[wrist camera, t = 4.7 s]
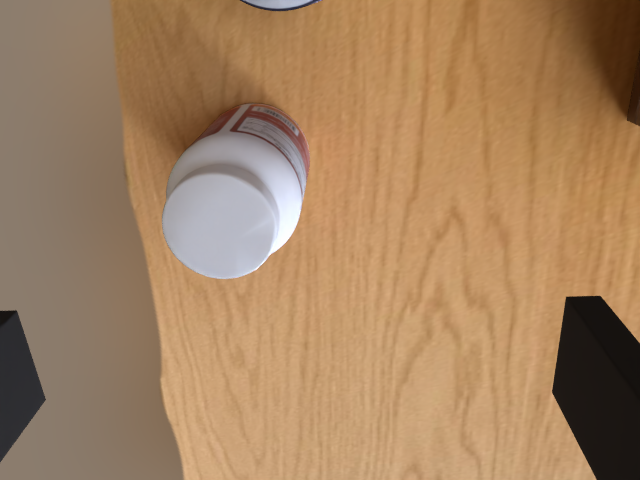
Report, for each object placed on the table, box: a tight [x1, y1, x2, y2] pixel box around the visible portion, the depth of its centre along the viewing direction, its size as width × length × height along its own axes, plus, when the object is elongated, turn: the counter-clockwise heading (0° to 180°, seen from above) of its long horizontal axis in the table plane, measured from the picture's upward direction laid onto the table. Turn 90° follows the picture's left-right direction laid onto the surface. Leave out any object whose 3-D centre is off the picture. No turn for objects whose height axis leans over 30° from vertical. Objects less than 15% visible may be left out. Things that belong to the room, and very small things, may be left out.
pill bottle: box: [162, 103, 310, 279], centre depth 27 cm, size 6×6×11 cm
